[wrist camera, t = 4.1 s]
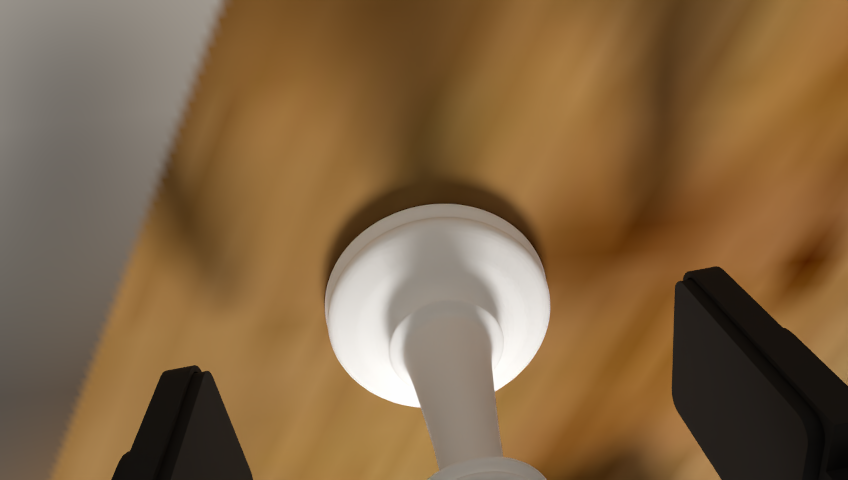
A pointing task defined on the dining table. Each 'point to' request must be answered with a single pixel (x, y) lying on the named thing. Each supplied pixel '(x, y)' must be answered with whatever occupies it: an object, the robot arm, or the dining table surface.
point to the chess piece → (442, 325)
